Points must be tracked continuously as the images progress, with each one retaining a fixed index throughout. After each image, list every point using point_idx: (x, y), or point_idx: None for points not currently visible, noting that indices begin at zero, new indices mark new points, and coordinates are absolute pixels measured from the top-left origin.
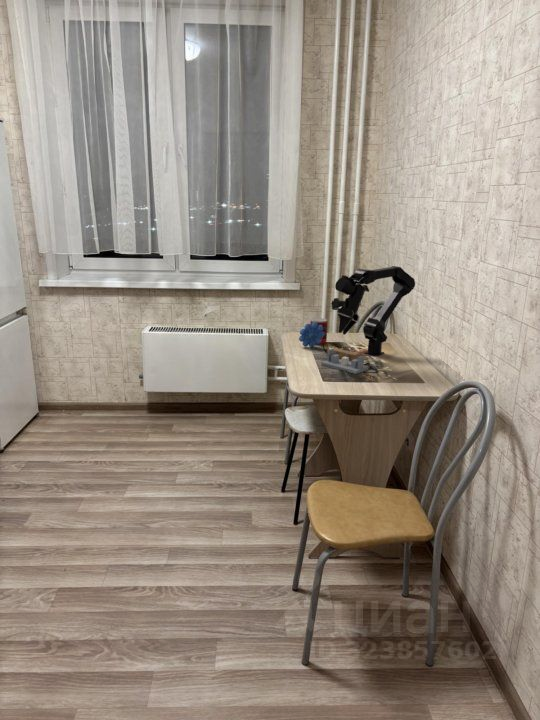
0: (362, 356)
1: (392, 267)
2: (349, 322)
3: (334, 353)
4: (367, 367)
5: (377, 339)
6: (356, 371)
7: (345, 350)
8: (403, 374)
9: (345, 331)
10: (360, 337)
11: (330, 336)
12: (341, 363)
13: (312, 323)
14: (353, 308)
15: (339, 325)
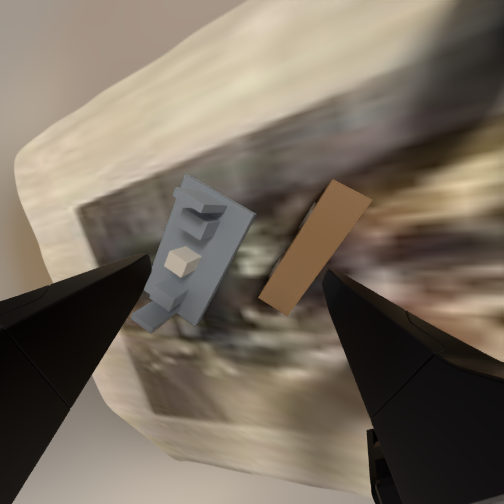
0: (144, 327)
1: None
2: (65, 415)
3: (310, 208)
4: (191, 321)
5: (368, 447)
6: (145, 290)
7: (324, 259)
8: (188, 392)
9: (332, 298)
10: None
11: None
12: (183, 247)
13: None
14: None
15: (73, 277)
